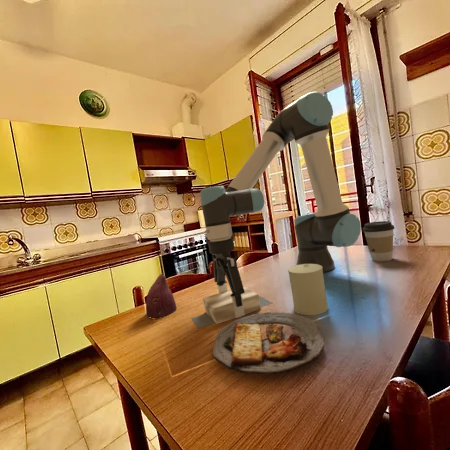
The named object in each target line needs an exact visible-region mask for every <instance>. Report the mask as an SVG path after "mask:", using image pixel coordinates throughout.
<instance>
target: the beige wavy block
mask: <svg viewBox="0 0 450 450" xmlns="http://www.w3.org/2000/svg"><path fill="white" fill-rule="evenodd" d="M243 288H244V292H245V293H243V294H241V296H242V302H243V308H244V314H245V315H249V314H250V313H254V312H256V311H259V310H261V309H262V307H260V301H259V296H260V295H259V293H257V292H255V291H253V290H251V289H249V288H247V287H245V286H243ZM231 294H232V291H231V289H229V290H227V291H225V292H222V293H219V292H218V293H216V294H212V295H209V296H206V297H203V298H202V300H203V306H204V311H205V314H206V313H207V314H208V315H209V316H210V317H211V319H212V320H213V321H214V322H215V323H214V324H216V325H219V324H220V323H221V324H222V323H223V322H224V323H225V322H227V321H231V320H233V319H236V318H235V314H234V308H233V302H232V297H231V296H230V295H231Z"/></svg>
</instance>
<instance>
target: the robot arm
mask: <svg viewBox="0 0 450 450" xmlns="http://www.w3.org/2000/svg"><path fill="white" fill-rule="evenodd" d="M333 115H334V110H333V105H332V103H331V102H330V99H328V97H327V96H325V95H324V94H322V93H321V92H317V91H311V92H308V93H306V94H304V95H302V96H300V97H299V98H298V99H297V100H295V101H294V102H292V103H291V104H289V105H288V106H286V107H285V108H283V109H282V110H280V111H279V112H278V114H277V115H275V117H274V119H273V120H272V121H271V123H270V124H269V126H268V127H267V128H266V130H265V132H263V134H262V140H261V141H260V142H259V144H258V145H257V147H256V148H255V149H254V151H253V152H252V153H251V155H250V156H249V158H248V159H247V160H246V162H245V163H244V164H243V166H241V169H239V171H238V172H237V173H236V175H235V176H234V178H233V179H232V180H231V182H230V183H229V185H228V186H227V188H225V187H224V186H223V185H215V186H210V187H205V188H202V189H201V190H200V192H199V194H200V195H199V197H200V206H201V209H202V215H203V219H204V226H205V230H204V234H206V239H207V240H209V241H208V242H207V244H208V250H209V254H211V255H212V256H211V257H212V262H213V263H212V264H213V276H214V277H213V278H214V283H216V286H217V289H218V294H219V293H222V292H225V291H228V286H227V283H228V285H229V288H230V290H231V291H232V294H231V295H230V296H231V297H232V302H233V308H234V314H235V318H234V319H240V318H243V317H245V316H246V314H244V308H243V302H242V296H241V294H243V293H245V292H244V288H243V287H244V285H243V282H242V278H241V275H240V272H239V267H238V262H237V258H236V257H234V258H233V257H232V255H231V252H233V251H234V250H235V242H234V238H232V236H233V230H232V224H231V223H232V222H231V218H230V217H234V216H242V215H247V214H254V213H258V212H260V211H262V210H263V209H264V206H265V198H264V197H265V196H264V194H263V192H262V190H260V189H259V188H257V187H255V188H254V186H255V185H256V184H257V182H258V181H259V180H260V178H261V177H262V175H263V174H264V173H265V171H266V169H267V168H268V167H269V165H270V164H271V162H272V161H273V160H274V158H275V157H276V155H277V154H278V153H279V152H282V151H283V150H284V149H285V148H286V146H287V145H288V144H289V143H290V142H292V141H294V142H295V143H296V144H298V145H299V146H300V147H301V150H302V154H303V158H304V162H305V165H306V166H305V167H306V170H307V173H308V174H307V175H308V177H309V181H310V184H311V188H312V191H313V195H314V200H315V204H316V207H317V210H316V212H311V213H308V214H303V215H298V216H296V217H294V233H295V237H296V243H297V250H298V253H297V261H296V264H295V266H296V265H301V264H318V265H321V266H322V269H323V273H325V272H329V271H333V269H335V267H336V266H335V260H334V259H333V257H332V255H331V253H330V251H329V247H336V248H342V247H343V248H347V247H351V246H353V245H354V244H355V243H356V242H357V241H358V238H359V237H360V234H361V232H362V231H361V230H362V227H361V225H362V223H361V221H360V219H359V217H358V216H357V215H356V214H353V213H351V212H350V211H351V210H350V208H349V205H347V204H344V202H343V199H342V195H341V192H340V191H341V190H340V187H339V183H338V179H337V175H336V172H335V167H334V164H333V160H332V155H331V151H330V148H329V144H328V138H327V136H328V133H330V127H329V124H330V122H331V121H332V119H333Z"/></svg>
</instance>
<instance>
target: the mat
mask: <svg viewBox="0 0 450 450" xmlns="http://www.w3.org/2000/svg"><path fill="white" fill-rule="evenodd" d="M259 301H260V307H261V308H263V307H265V306H269V305H271V304H273V302H272V301H271V300H269V299H266V298H264V297H262V296H260V295H259ZM190 319H191V321H192V322H193V323H194V324H195V326H196V328H197V329H200V328H203V327H204V328H205V327H206V326H210V325H212V324H216V323H215V322H214V321H213V320H212V319H211V317H210V316H209V315H208V314H207V313H206V312H205V313H203V314H200V315H197V316H194V317H191V318H190Z"/></svg>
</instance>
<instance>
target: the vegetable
mask: <svg viewBox="0 0 450 450" xmlns="http://www.w3.org/2000/svg"><path fill="white" fill-rule="evenodd" d="M177 309H178V308H177V304H176V301H175V298H174V295H173V292H172V290H171V289H170V288H169V285H168V284H167V279H166V276H165V275H164V273H163V272H162V273H161V274H159V275H158V276H157V278H156V279H155V281H154V282H153V284H151V286H150V287H149V289H148V292H147V296H146V302H145V311H146V317H147V316H148V317H151V318H156V319H161V318H160V317H162V318H164V316H165V317H167V316H169V315H172V314H173V313H175V312H176V311H177ZM148 317H147V318H148Z"/></svg>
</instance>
